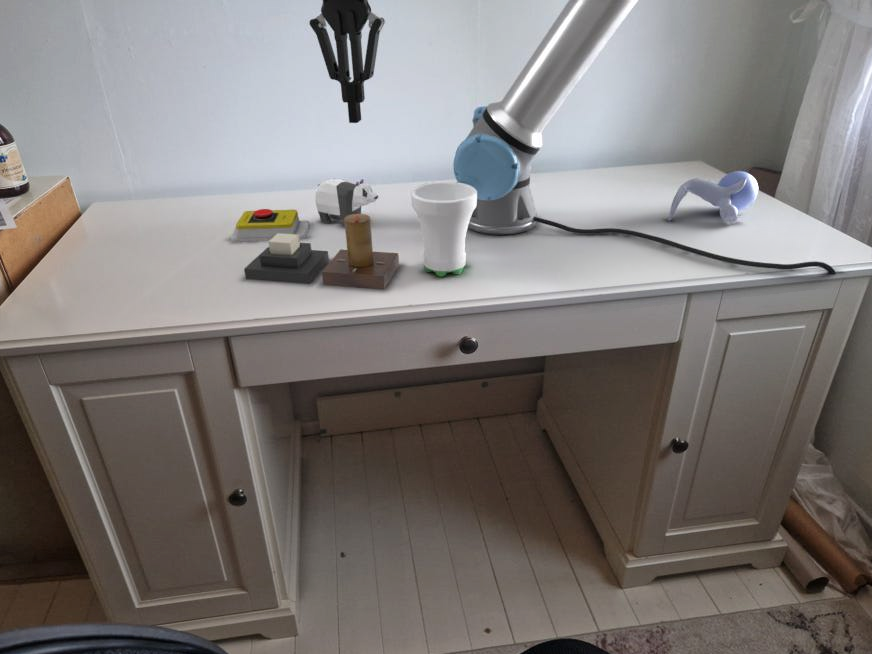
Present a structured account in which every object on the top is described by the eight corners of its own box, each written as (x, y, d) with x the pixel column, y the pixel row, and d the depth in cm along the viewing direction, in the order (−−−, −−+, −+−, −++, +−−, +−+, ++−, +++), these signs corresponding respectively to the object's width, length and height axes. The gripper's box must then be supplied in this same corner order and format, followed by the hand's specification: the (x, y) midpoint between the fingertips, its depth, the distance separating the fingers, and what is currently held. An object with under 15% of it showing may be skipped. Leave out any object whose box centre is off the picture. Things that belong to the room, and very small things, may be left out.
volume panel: (399, 265, 115) (398, 252, 113) (384, 289, 107) (383, 275, 105) (341, 261, 117) (340, 248, 115) (323, 285, 109) (321, 270, 107)
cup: (480, 258, 117) (482, 182, 109) (470, 284, 108) (471, 203, 100) (421, 254, 119) (419, 179, 111) (406, 279, 110) (403, 199, 102)
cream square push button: (300, 247, 114) (298, 234, 112) (291, 256, 110) (289, 242, 109) (279, 246, 114) (277, 233, 113) (270, 255, 111) (268, 241, 110)
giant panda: (314, 221, 135) (309, 177, 130) (329, 213, 139) (324, 170, 134) (371, 232, 129) (368, 186, 124) (386, 223, 133) (383, 178, 128)
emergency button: (236, 205, 132) (307, 203, 132) (240, 225, 134) (310, 223, 134) (225, 220, 124) (301, 218, 124) (229, 241, 126) (304, 239, 126)
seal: (761, 232, 133) (678, 240, 128) (733, 192, 140) (653, 198, 135) (785, 202, 126) (699, 209, 121) (754, 161, 133) (671, 166, 128)
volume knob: (349, 257, 112) (344, 212, 108) (374, 256, 112) (370, 211, 108) (347, 267, 108) (343, 221, 104) (373, 266, 108) (369, 220, 104)
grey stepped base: (329, 260, 117) (326, 240, 115) (309, 284, 109) (306, 262, 107) (269, 256, 119) (265, 236, 117) (245, 279, 111) (241, 258, 109)
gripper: (296, -29, 101) (314, 125, 113) (374, -31, 98) (384, 126, 111) (313, -30, 107) (328, 116, 119) (387, -32, 104) (394, 117, 117)
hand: (355, 121), depth 115 cm, fingers closed
